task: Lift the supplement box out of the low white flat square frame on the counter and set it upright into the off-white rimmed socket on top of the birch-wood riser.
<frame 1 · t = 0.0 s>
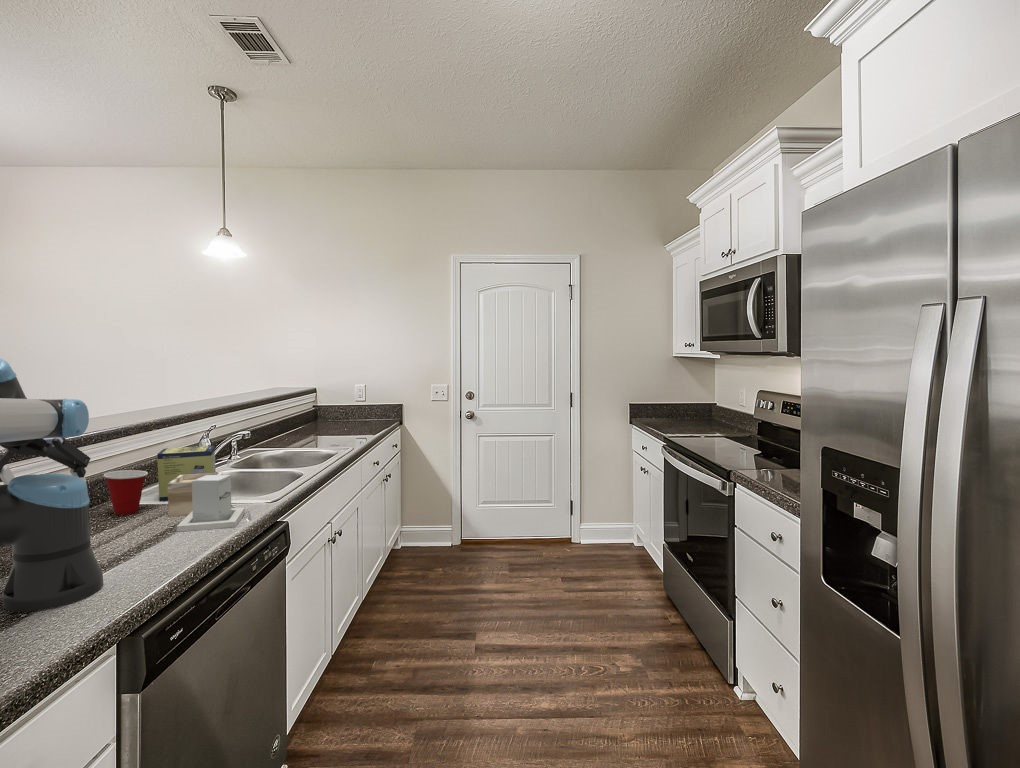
hand: (49, 486, 129), 15 cm above the countertop, tool tilted 35°, fingers open, 13 cm apart
supplement box: (212, 522, 152), resting in white flat square frame
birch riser: (197, 508, 164), on the countertop
plastic cup: (127, 512, 161), on the countertop
white flat square frame: (212, 521, 152), on the countertop
protein box: (188, 496, 179), on the countertop
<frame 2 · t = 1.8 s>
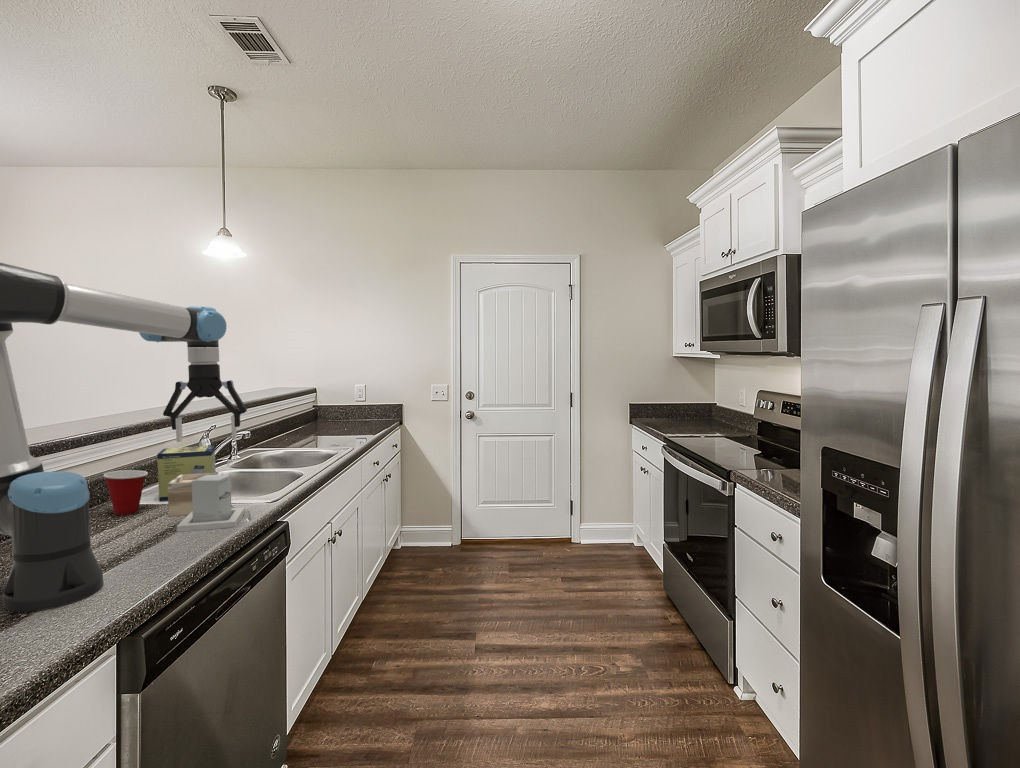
hand: (207, 440, 150), 23 cm above the countertop, tool pointing down, fingers open, 13 cm apart
nothing on the countertop moved.
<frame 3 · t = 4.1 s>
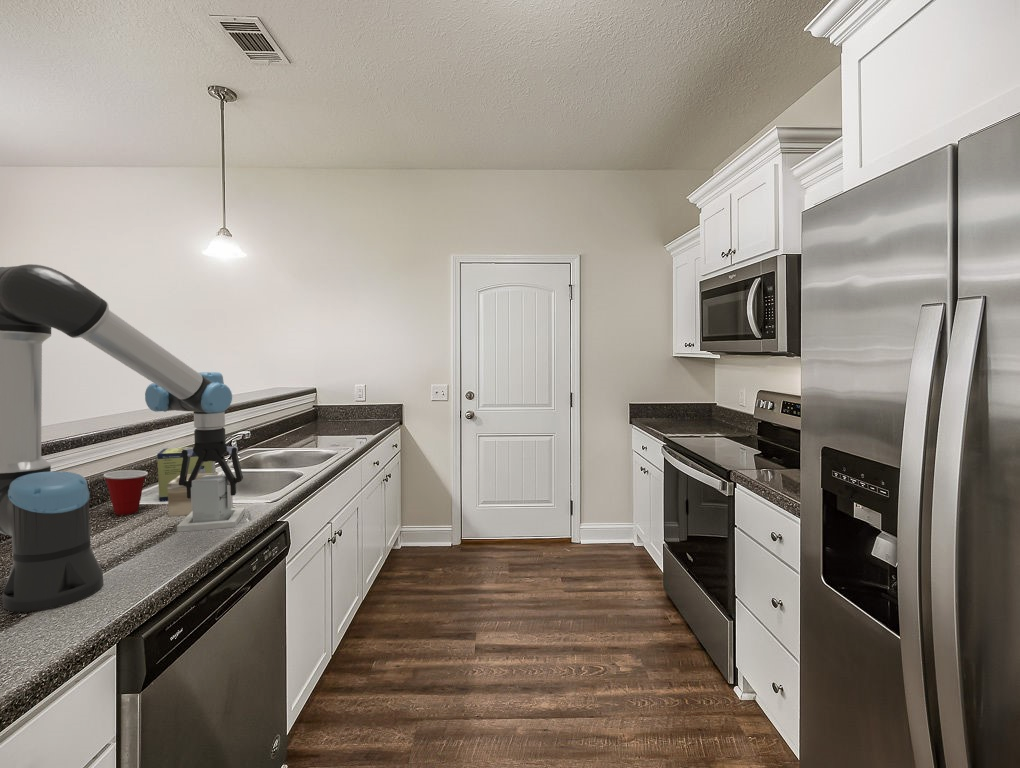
hand: (212, 508, 152), 4 cm above the countertop, tool pointing down, fingers closed on supplement box, 8 cm apart
supplement box: (212, 522, 152), resting in white flat square frame, touching gripper
everything else where it was.
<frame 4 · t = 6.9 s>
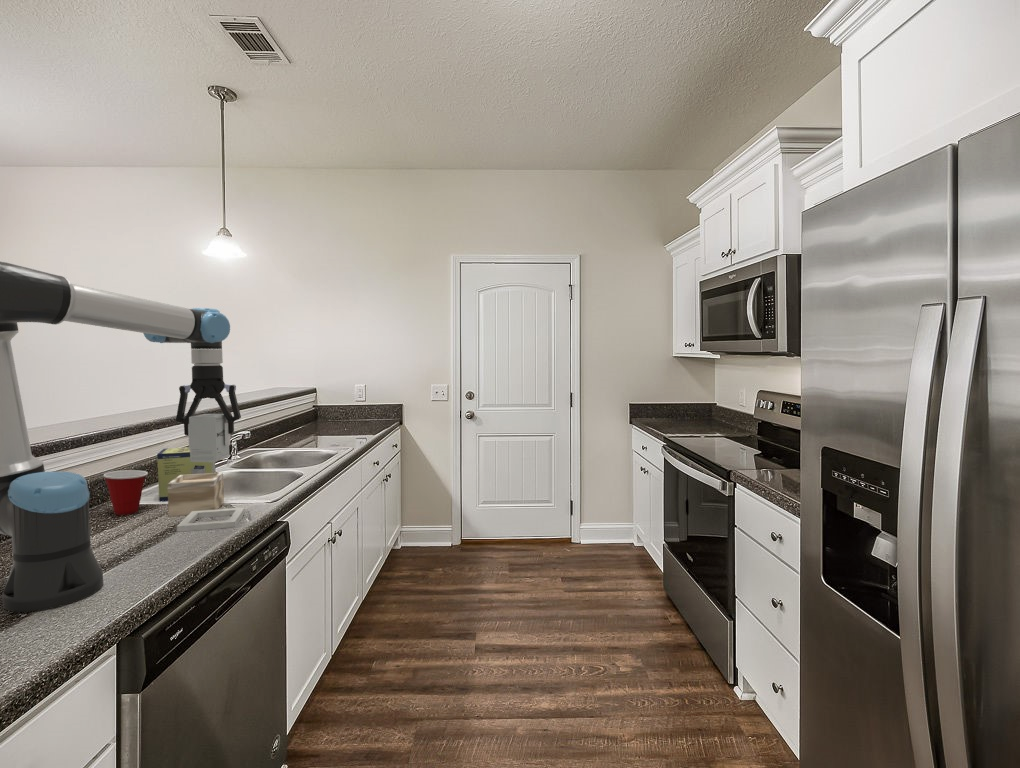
hand: (210, 446, 151), 21 cm above the countertop, tool pointing down, fingers closed on supplement box, 8 cm apart
supplement box: (210, 460, 151), point 17 cm above the countertop, touching gripper
everything else where it was.
when the fingers open (13 cm above the countertop, at t = 9.9 s): supplement box drops 1 cm, resting on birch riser.
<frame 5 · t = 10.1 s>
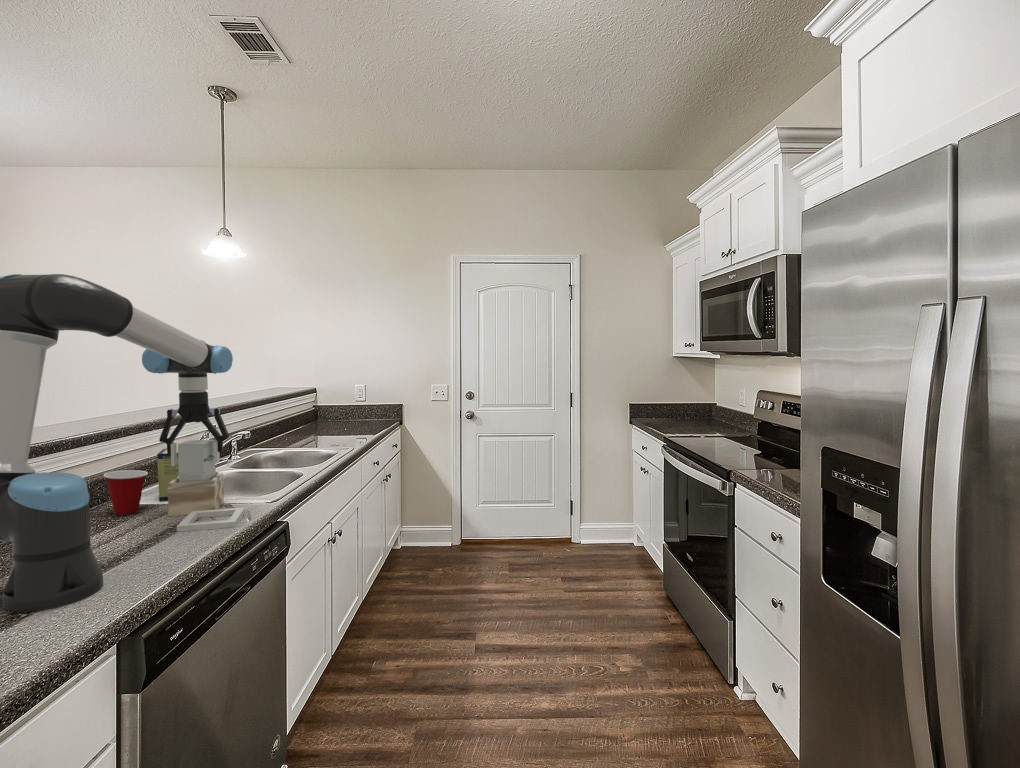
hand: (196, 463, 163), 14 cm above the countertop, tool pointing down, fingers open, 11 cm apart
supplement box: (197, 483, 164), point 8 cm above the countertop, touching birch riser
everything else where it was.
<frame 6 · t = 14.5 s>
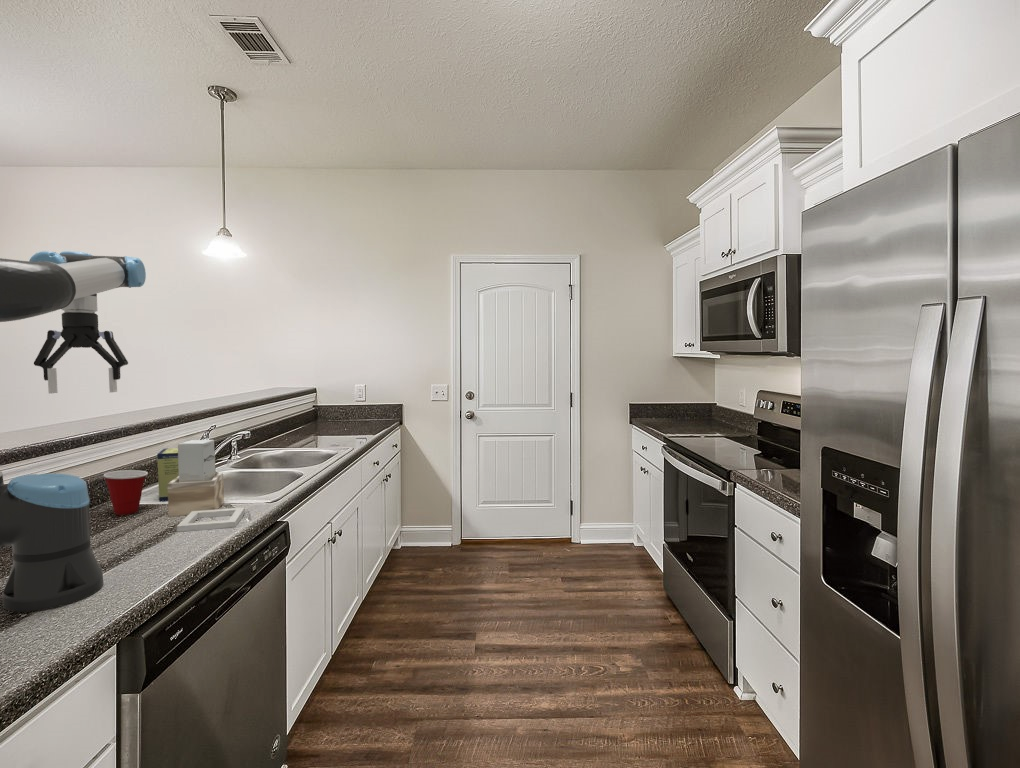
hand: (83, 392, 144), 37 cm above the countertop, tool pointing down, fingers open, 13 cm apart
nothing on the countertop moved.
at the end: supplement box 0.3 cm off-centre on the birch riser, point 7.8 cm above the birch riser's base; supplement box tilted 0°; the gripper is holding nothing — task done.
